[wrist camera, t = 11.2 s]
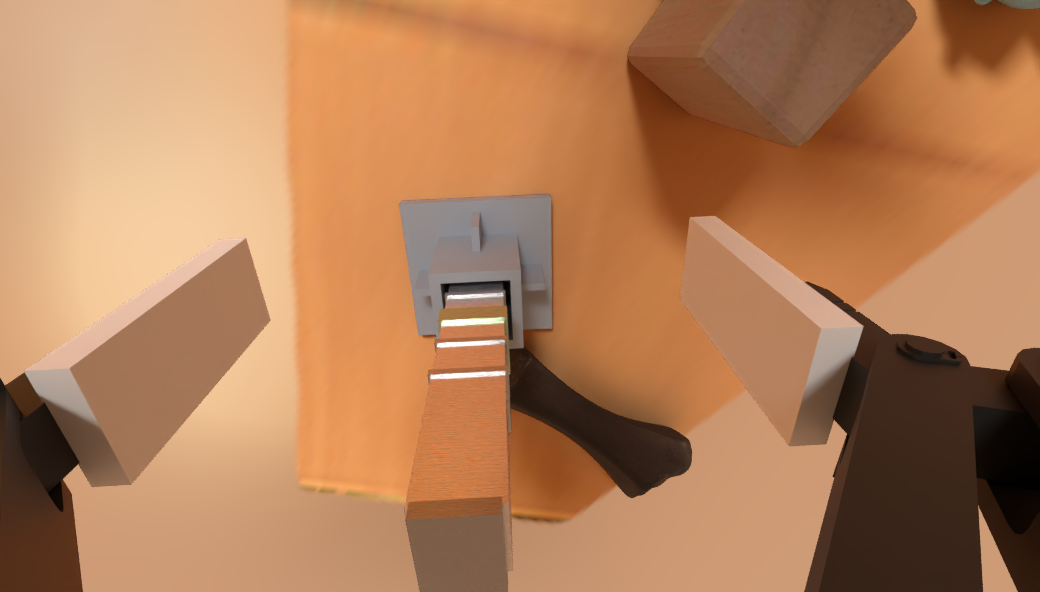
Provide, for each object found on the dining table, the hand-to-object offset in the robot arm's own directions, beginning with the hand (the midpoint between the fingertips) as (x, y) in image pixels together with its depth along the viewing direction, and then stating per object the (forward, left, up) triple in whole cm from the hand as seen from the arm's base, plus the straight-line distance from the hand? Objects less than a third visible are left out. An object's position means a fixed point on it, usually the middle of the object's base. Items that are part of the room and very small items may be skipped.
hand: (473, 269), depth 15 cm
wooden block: (-6, +20, -39) cm, 44 cm away
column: (+16, -2, -29) cm, 33 cm away
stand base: (+16, -2, -39) cm, 42 cm away
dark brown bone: (+38, +10, -39) cm, 55 cm away
